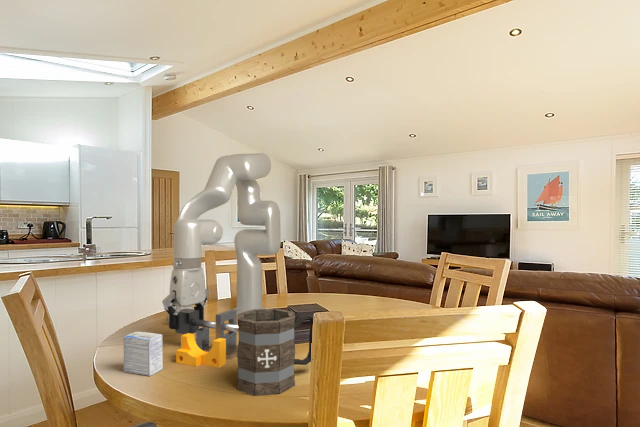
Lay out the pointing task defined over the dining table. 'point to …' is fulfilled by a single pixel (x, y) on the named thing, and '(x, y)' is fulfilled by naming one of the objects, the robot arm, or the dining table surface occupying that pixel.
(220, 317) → the grey square ring
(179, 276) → the robot arm
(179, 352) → the pipe clamp
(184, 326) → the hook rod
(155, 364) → the medicine box
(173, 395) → the dining table surface
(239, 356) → the mug
